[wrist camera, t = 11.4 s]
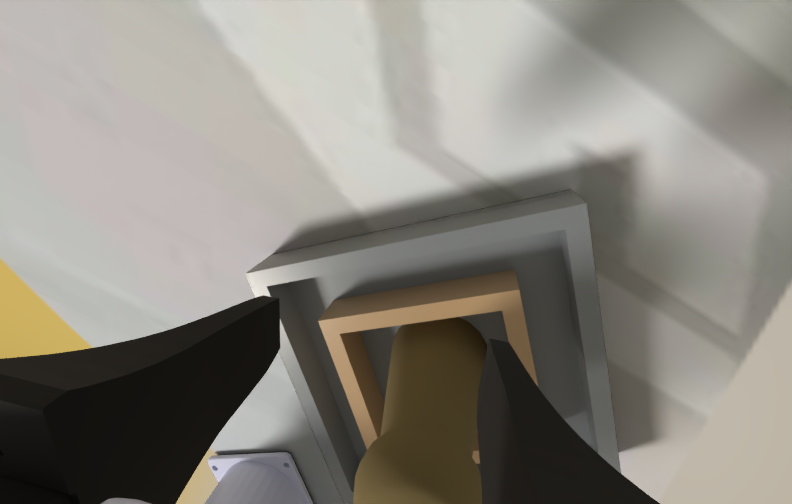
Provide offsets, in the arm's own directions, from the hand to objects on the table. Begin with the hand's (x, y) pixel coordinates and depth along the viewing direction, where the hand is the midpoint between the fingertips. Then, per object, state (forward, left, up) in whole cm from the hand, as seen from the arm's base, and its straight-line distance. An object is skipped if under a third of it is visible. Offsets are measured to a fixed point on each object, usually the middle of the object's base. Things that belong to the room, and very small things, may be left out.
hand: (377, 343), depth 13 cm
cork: (-7, 0, -10) cm, 12 cm away
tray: (-8, +1, -10) cm, 13 cm away
